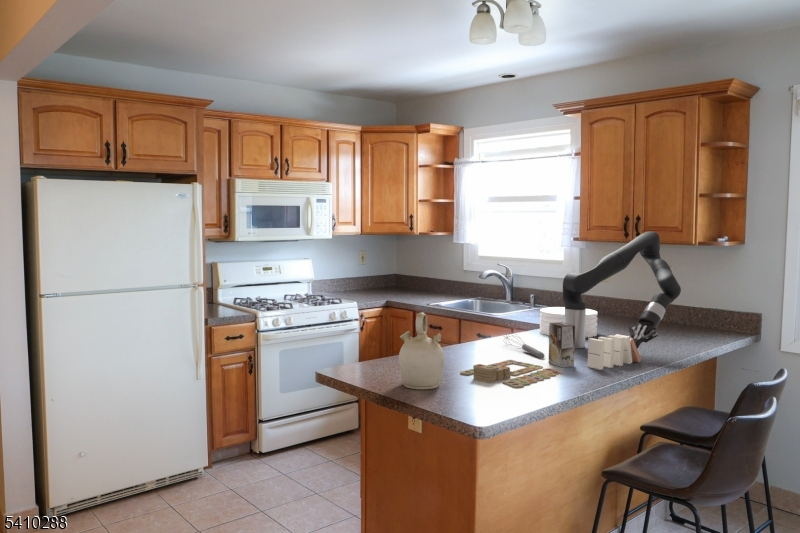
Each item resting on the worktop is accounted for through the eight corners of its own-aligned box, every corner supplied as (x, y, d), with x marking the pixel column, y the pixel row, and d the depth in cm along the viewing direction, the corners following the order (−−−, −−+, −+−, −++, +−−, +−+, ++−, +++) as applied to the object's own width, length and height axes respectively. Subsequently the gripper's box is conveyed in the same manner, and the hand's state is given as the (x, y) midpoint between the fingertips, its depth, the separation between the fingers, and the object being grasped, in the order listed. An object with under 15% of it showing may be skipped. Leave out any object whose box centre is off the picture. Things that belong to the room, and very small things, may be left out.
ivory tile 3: (610, 367, 246) (611, 339, 245) (597, 364, 251) (598, 337, 250) (613, 367, 247) (614, 339, 246) (600, 364, 252) (601, 336, 251)
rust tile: (638, 362, 256) (630, 341, 252) (626, 359, 261) (617, 338, 257) (641, 359, 257) (632, 338, 253) (628, 356, 262) (619, 336, 257)
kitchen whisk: (538, 360, 258) (538, 345, 258) (500, 345, 290) (500, 331, 290) (551, 360, 260) (551, 344, 259) (512, 345, 292) (512, 331, 292)
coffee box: (575, 366, 248) (576, 325, 246) (561, 367, 245) (562, 326, 244) (561, 361, 256) (562, 321, 255) (547, 362, 254) (548, 322, 253)
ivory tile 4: (600, 369, 242) (601, 341, 242) (587, 366, 247) (588, 338, 246) (603, 369, 243) (604, 340, 243) (590, 366, 248) (591, 338, 247)
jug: (389, 386, 214) (390, 313, 212) (414, 377, 227) (415, 308, 225) (428, 394, 206) (429, 317, 204) (452, 384, 219) (453, 311, 217)
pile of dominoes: (517, 391, 213) (517, 374, 212) (454, 376, 232) (454, 361, 231) (569, 373, 238) (570, 359, 237) (509, 362, 257) (509, 348, 256)
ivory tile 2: (620, 365, 249) (621, 338, 248) (607, 363, 254) (608, 335, 253) (623, 365, 250) (624, 337, 249) (610, 362, 255) (611, 335, 254)
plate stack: (588, 340, 304) (588, 316, 303) (531, 334, 318) (532, 311, 317) (603, 332, 327) (603, 309, 326) (549, 326, 342) (550, 305, 341)
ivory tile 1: (629, 364, 253) (626, 337, 250) (616, 361, 257) (614, 335, 255) (632, 362, 254) (629, 336, 251) (619, 359, 258) (616, 334, 256)
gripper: (670, 323, 260) (651, 356, 254) (641, 319, 271) (623, 351, 265) (663, 311, 257) (643, 345, 251) (634, 307, 268) (615, 339, 262)
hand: (633, 348), depth 258 cm, fingers closed
